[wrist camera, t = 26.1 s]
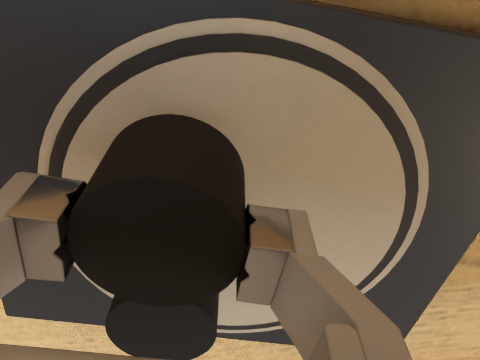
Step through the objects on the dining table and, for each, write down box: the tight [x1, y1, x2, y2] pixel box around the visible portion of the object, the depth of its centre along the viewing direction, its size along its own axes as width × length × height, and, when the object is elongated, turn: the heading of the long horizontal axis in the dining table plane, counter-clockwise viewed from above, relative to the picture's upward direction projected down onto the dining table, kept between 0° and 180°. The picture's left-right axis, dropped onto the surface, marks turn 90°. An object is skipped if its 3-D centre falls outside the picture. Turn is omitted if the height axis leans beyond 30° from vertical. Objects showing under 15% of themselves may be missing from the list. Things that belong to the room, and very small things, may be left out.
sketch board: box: [0, 0, 480, 345], centre depth 15 cm, size 20×16×1 cm
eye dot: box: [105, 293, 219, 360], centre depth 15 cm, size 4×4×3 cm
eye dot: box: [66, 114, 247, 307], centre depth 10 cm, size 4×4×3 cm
